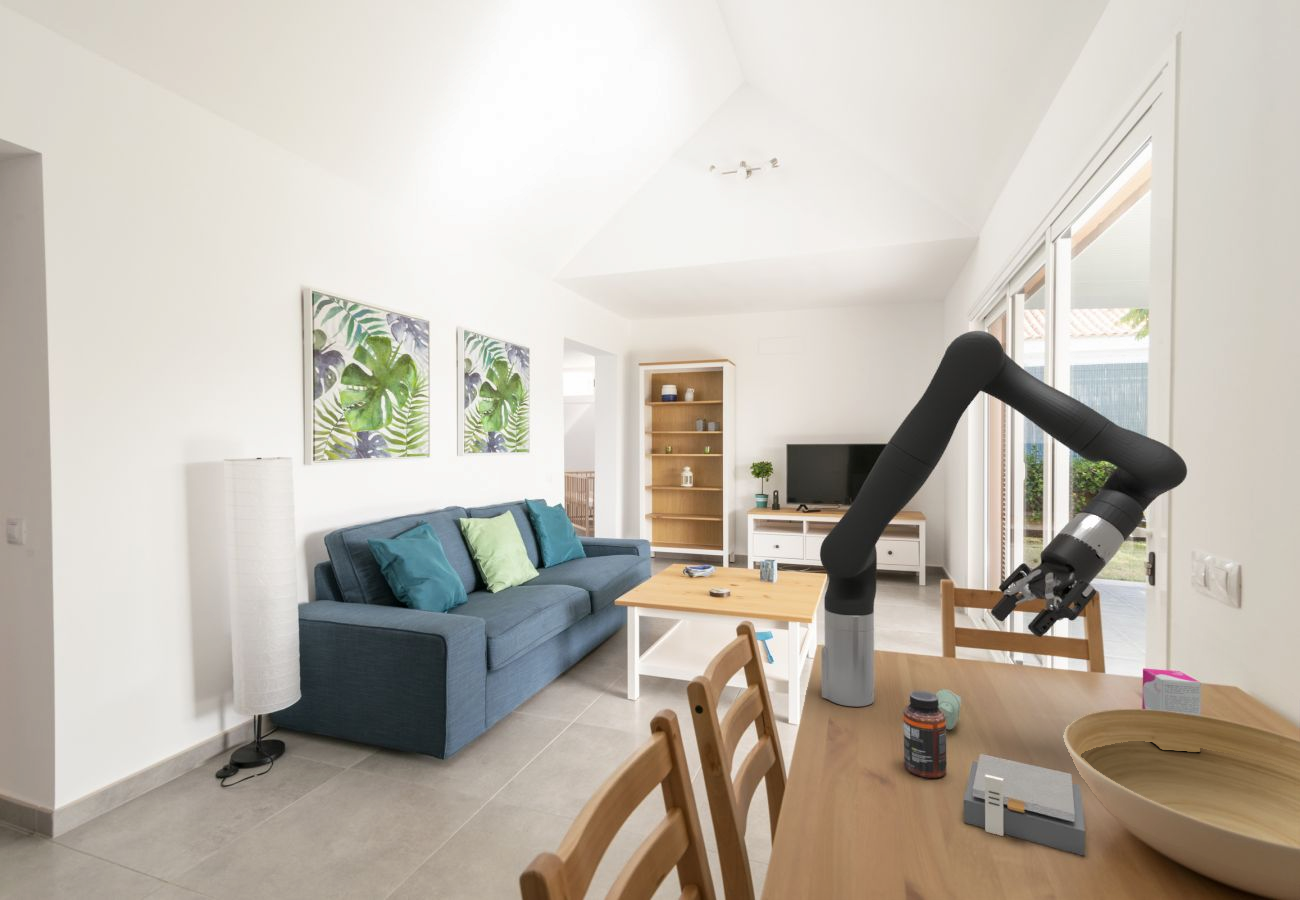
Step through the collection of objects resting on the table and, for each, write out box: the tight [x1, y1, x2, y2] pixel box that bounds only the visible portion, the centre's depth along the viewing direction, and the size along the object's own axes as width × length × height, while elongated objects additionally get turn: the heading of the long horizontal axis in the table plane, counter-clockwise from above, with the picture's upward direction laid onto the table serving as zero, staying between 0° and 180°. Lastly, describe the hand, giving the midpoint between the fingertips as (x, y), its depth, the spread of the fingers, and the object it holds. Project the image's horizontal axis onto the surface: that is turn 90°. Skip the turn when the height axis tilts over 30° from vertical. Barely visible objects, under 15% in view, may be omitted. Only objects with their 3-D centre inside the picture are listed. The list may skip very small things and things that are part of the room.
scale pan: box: [973, 753, 1075, 822], centre depth 83 cm, size 11×13×1 cm
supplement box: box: [1141, 667, 1202, 717], centre depth 104 cm, size 6×6×12 cm
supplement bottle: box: [903, 690, 947, 779], centre depth 96 cm, size 6×6×11 cm
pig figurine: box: [934, 688, 962, 730], centre depth 110 cm, size 8×4×7 cm, turn 139°
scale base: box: [963, 760, 1086, 857], centre depth 84 cm, size 13×13×7 cm
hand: (1013, 624), depth 97 cm, fingers open, 8 cm apart
